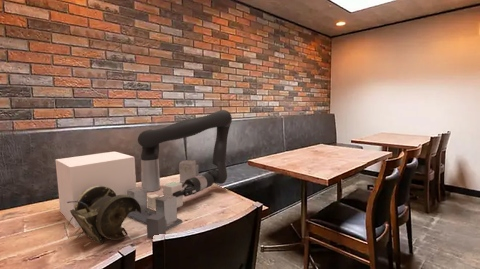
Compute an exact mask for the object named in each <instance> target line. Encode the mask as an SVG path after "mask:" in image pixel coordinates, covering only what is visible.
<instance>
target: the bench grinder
mask: <svg viewBox="0 0 480 269" xmlns="http://www.w3.org/2000/svg"><path fill="white" fill-rule="evenodd" d="M71 202H76V204H75V210H74V209H72V210H70V212H71V214H72V216H73V217H74V218H75V219H76V221H77V222H78V224H79V225H80V227H78V229H77V230H76V231H75V232H73V236H75V234H77V233H78V232H79V230H80V229H81V230H82V232H81V233H80V234H79V235H78V236H77V237H76V238H74V241H76V240H77V239H79V237H81V235H83V234H84V235H85V236H87V237H88V236H89V237H88V238H90V239H91V238H92V239H91V241H89V242H87V243H85V244H84V245H83V247H86V246H88V245H90V244H91V243H93V242H96V243H97V242H98V243H97V244H98V245H100V244H101V245H102V244H103V243H104V241H103V240H102V239H103V237H104V238H106V239H108V240H112V241H118V240H123V239H124V238H126V236H127V235H129V234H128V232H127V230H126V229H125V227H122V225H123V223H124V221H125V220H126V218H127V217H128V214H129V213H130V212H133V211H138V212H140V213H141V207H140V205H139V203H138V202H137V200H135V199H134V198H132V197H131V196H128V195H117V196H116V194H115V192H114V191H113V190H112V189H110V188H108V187H104V186H93V187H90V188H88V189H87V190H85V191H84V192H83V193H82V194H81V195H80V196H79V197H78V199H77V201H70V202H67V203H71ZM73 217H72V218H73ZM72 218H71V220H72ZM71 220H70V221H71ZM70 224H71V223H70V222H69V221H68V222H67V224H66V225H65V227H64V229H67V228H68V226H69V225H70ZM94 240H95V241H94Z"/></svg>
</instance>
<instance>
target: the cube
mask: <svg viewBox="0 0 480 269" xmlns="http://www.w3.org/2000/svg"><path fill="white" fill-rule="evenodd" d="M135 161H136V160H135V156H132V155H129V154H125V153H122V152H118V151H109V152H108V151H107V152H99V153H93V154H92V153H91V154H86V155H80V156H79V155H78V156H73V157H72V156H70V157H64V158H57V159H55V168H56V169H55V170H56V180H57V191H58V201H59V211H60V212H61V213H62V214H63V215H64V216H65V217H64V216H63V215H62V214H61V213H60V214H61V215H62V216H63V217H64V218H65V219H66V220H67V221H68V223H69V222H70V223H69V224H71V225H72V226H73V227H74V228H75V227H76V228H80V227H79V226H80V225H79V224H78V222H77V221H76V219H75V218H74V217H73V216H72V214H71V212H70V210H72V209H74V210H75V204H76V202H71V203H67V202H70V201H77V199H78V197H79V196H80V195H81V194H82V193H83V192H84V191H85V190H87V189H88V188H90V187H93V186H104V187H108V188H110V189H112V190H113V191H114V192H115V194H116V196H117V195H127V190H129V189H132V188H136V187H137V177H136V162H135ZM72 217H73V218H72ZM71 218H72V220H71ZM70 220H71V221H70Z"/></svg>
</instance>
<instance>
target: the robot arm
mask: <svg viewBox="0 0 480 269" xmlns="http://www.w3.org/2000/svg"><path fill="white" fill-rule="evenodd" d="M232 119H233V118H232V114H231V113H230V112H229V111H228V110H225V109H220V110H218V111H214V112H212V113H210V114H207V115H203V116H199V117H193V118H190V119H189V118H188V119H185V120H181V121H178V122H175V123H172V124H170V125H167V126H164V127H162V128H157V129H145V130H143V131H141V133H139V134H138V137H137V142H138V144H139V146H140V147H142V148H141V154H140V165H141V172H140V179H141V181H140V182H141V187H143V188H146V190H147V193H149V192H156V191H159V190H160V189H161V180H160V179H161V178H160V163H159V162H160V160H159V159H160V158H159V156H160V144H162V143H165V142H169V141H175V140H181V139H186V138H189V137H192V136H195V135H198V134H200V133H202V132H204V131H207V130H209V129H210V130H211V129H214V128H216V139H215V142H214V146H213V147H214V148H213V154H212V164H213V165H214V166H215V167H217V169H210V170H208V171H206V172H205V173H204V174H201V175H199V176H195V177H192V178H189V179H187V180H185V182H184V184H182V190H180V191H177V192H175V193H173V196H175V197H179V196H183V197H185V198H186V197H189V196H192V195H196V194H197V193H199V192H202V191H203V190H204V189H208V188H210V187H211V186H213V184H220V185H222V184H225V183H226V181H227V179H228V172H227V165H226V160H227V151H228V150H227V149H228V137H229V136H228V135H229V131H230V128H231V125H232V121H233V120H232ZM163 196H164V192H163Z"/></svg>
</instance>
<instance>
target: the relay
mask: <svg viewBox="0 0 480 269" xmlns="http://www.w3.org/2000/svg"><path fill="white" fill-rule="evenodd" d="M146 222H147V224H146V232H147V233H146V236H147V238H150V239H151V238H152V237H153V236H154V235H159V234H165V235H166V233H167V232H166V231H167V230H166V227H165V216H164V215H158V214H152V215H151V216H149V217H148V218H146ZM152 239H153V238H152Z"/></svg>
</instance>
